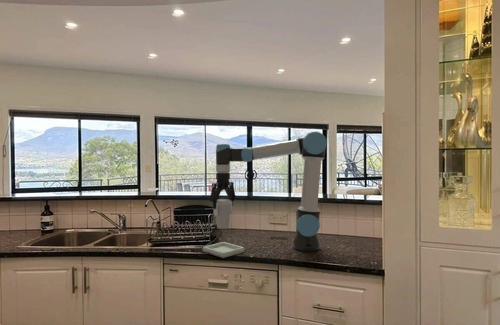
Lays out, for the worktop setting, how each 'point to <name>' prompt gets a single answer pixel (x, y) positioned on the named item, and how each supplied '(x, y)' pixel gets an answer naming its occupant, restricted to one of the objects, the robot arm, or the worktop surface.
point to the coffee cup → (223, 213)
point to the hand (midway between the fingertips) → (223, 213)
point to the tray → (223, 249)
